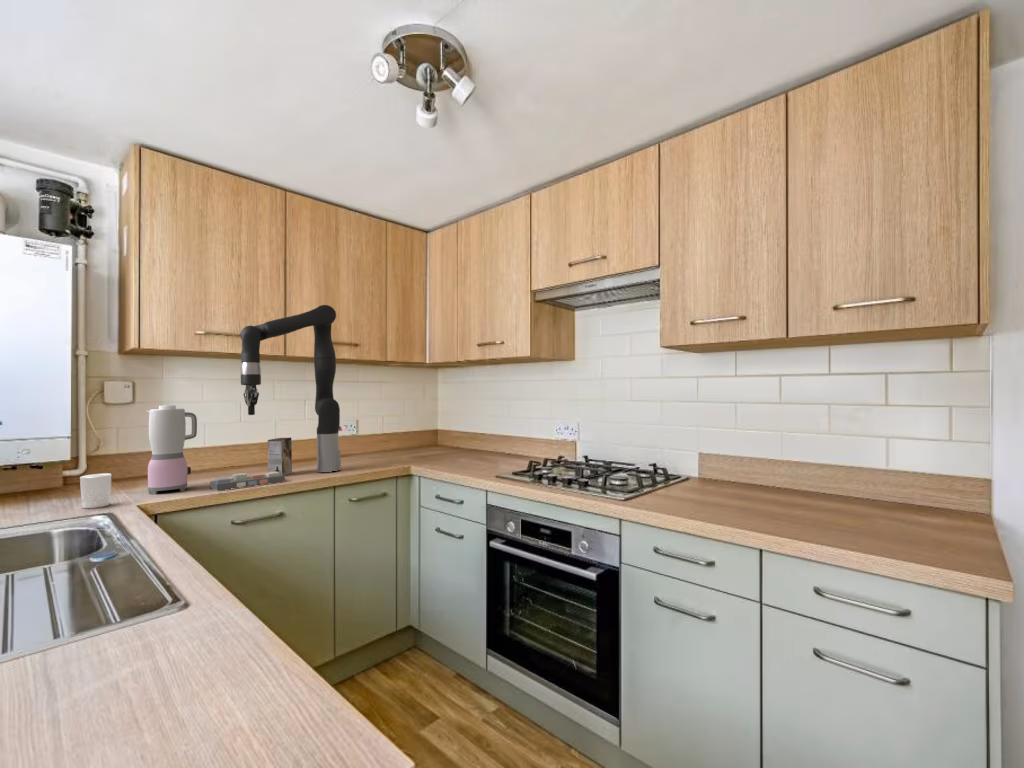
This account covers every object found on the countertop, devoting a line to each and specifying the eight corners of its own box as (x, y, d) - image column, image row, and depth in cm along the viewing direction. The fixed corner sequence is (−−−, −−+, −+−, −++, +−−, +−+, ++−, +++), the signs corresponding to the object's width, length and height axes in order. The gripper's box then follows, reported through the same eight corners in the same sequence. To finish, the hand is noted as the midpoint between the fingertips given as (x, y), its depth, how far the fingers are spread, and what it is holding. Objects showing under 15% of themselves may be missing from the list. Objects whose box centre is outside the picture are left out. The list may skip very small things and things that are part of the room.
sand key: (276, 478, 203) (275, 471, 203) (279, 480, 200) (279, 472, 200) (265, 480, 200) (265, 472, 200) (269, 481, 197) (268, 473, 197)
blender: (149, 495, 175) (148, 406, 176) (144, 491, 184) (144, 406, 185) (201, 489, 186) (200, 404, 186) (194, 485, 195) (193, 404, 195)
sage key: (244, 480, 194) (244, 473, 194) (247, 481, 191) (247, 474, 191) (232, 482, 191) (232, 474, 192) (235, 483, 189) (235, 475, 189)
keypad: (276, 479, 205) (275, 473, 205) (284, 481, 198) (284, 475, 198) (210, 487, 189) (210, 481, 189) (217, 491, 181) (217, 484, 181)
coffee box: (278, 473, 220) (277, 437, 221) (292, 473, 220) (292, 437, 220) (267, 477, 211) (267, 439, 211) (282, 476, 211) (282, 439, 211)
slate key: (227, 485, 190) (227, 477, 190) (230, 486, 187) (229, 478, 187) (215, 486, 187) (215, 478, 187) (218, 488, 184) (218, 480, 184)
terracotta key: (260, 480, 198) (260, 473, 198) (263, 482, 196) (263, 474, 196) (249, 482, 196) (249, 474, 196) (252, 483, 193) (252, 475, 193)
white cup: (79, 506, 160) (79, 475, 161) (110, 502, 166) (110, 472, 166) (81, 510, 155) (80, 478, 155) (113, 505, 160) (112, 475, 160)
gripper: (265, 373, 205) (266, 414, 204) (255, 374, 214) (255, 414, 214) (245, 373, 199) (246, 415, 199) (236, 374, 209) (236, 415, 208)
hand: (251, 414), depth 206 cm, fingers closed
